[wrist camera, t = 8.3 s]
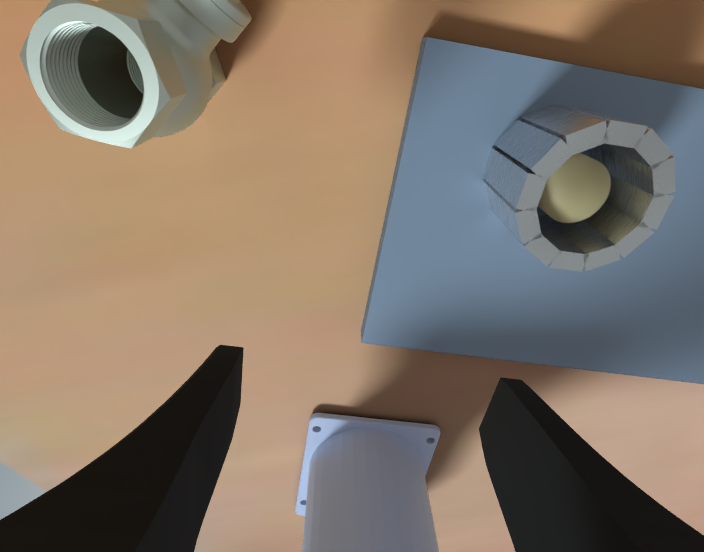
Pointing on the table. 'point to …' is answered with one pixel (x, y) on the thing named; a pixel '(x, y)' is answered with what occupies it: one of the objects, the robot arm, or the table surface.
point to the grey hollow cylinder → (550, 154)
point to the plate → (556, 200)
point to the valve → (129, 64)
